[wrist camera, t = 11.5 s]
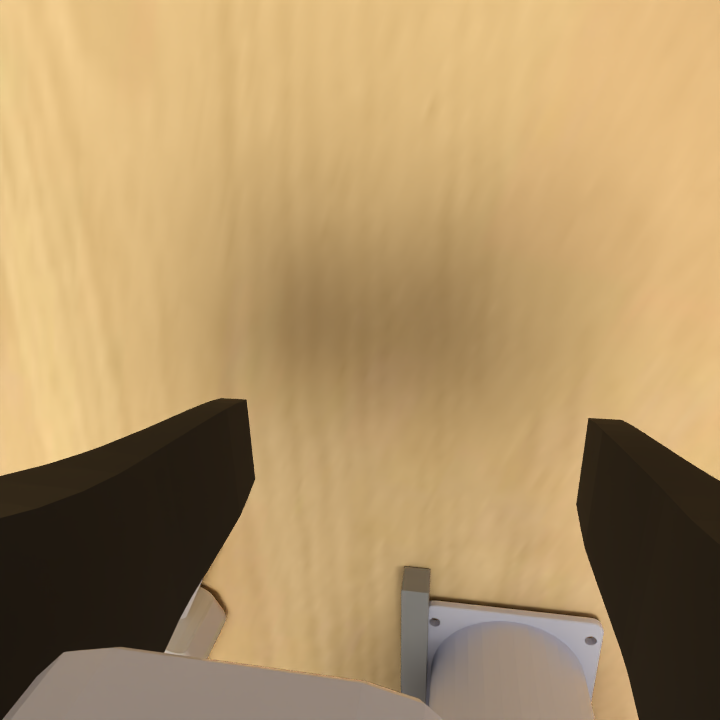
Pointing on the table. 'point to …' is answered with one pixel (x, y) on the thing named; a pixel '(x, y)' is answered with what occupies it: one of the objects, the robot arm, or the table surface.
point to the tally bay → (414, 631)
